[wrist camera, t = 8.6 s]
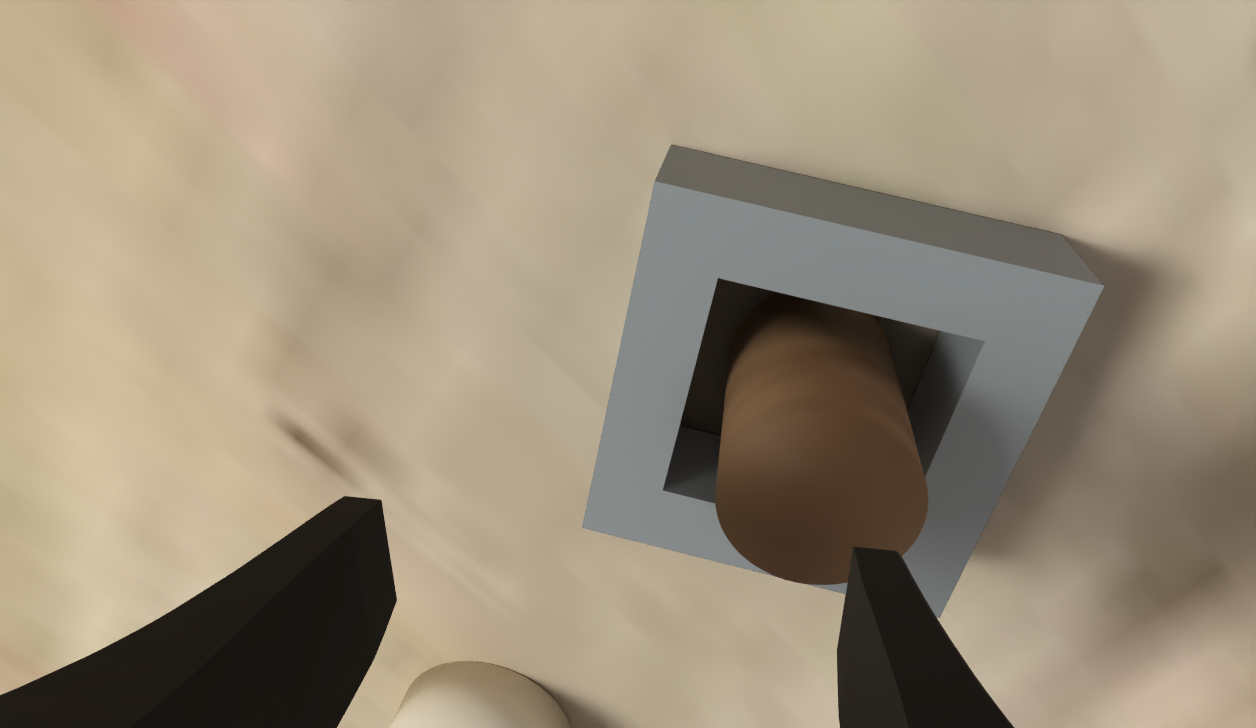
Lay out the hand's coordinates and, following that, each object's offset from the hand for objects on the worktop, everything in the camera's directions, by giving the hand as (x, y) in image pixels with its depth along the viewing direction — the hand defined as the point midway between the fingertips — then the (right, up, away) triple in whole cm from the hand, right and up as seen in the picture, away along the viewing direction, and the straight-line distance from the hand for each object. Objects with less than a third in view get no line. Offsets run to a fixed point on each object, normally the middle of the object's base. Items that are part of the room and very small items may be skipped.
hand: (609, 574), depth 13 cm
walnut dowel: (+5, +3, +9) cm, 11 cm away
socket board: (+5, +3, +9) cm, 10 cm away
